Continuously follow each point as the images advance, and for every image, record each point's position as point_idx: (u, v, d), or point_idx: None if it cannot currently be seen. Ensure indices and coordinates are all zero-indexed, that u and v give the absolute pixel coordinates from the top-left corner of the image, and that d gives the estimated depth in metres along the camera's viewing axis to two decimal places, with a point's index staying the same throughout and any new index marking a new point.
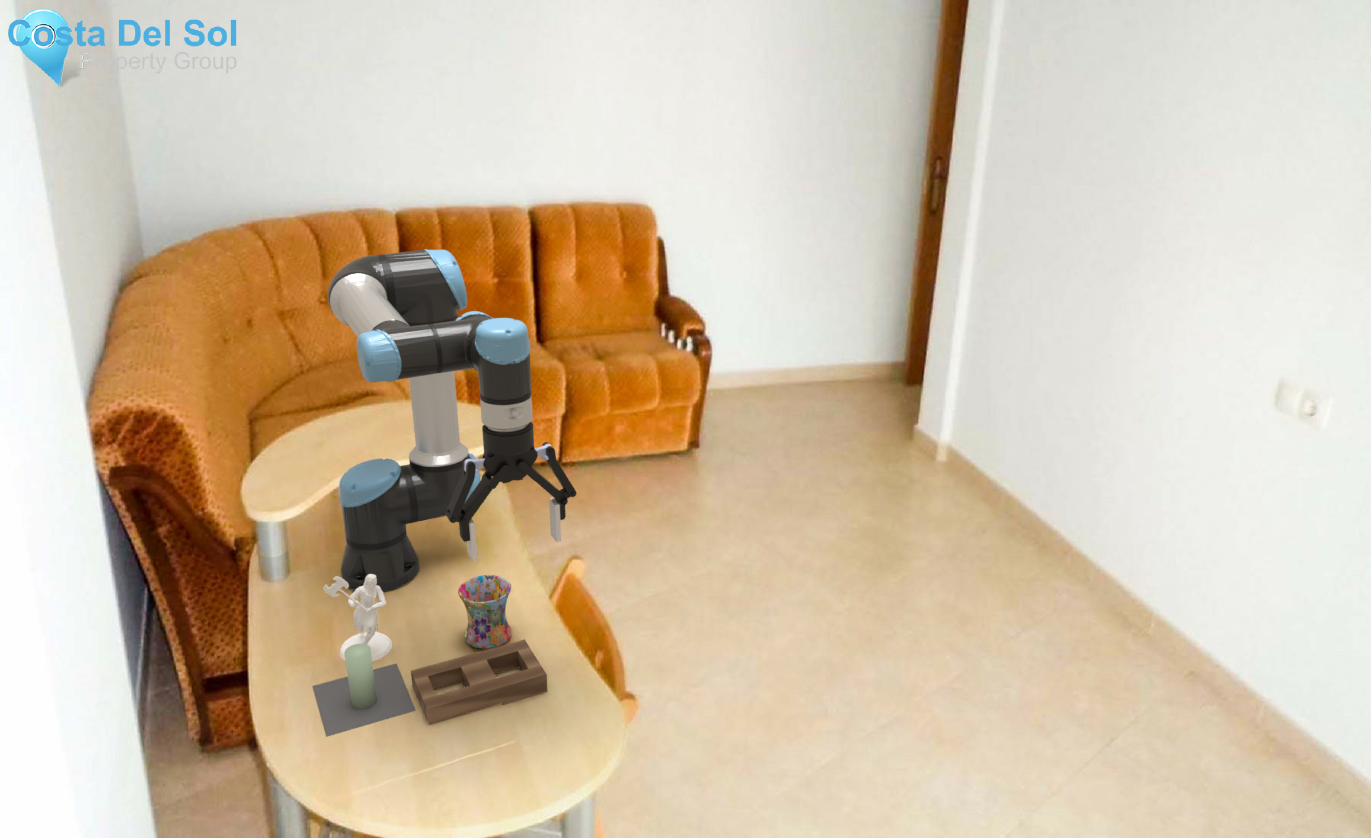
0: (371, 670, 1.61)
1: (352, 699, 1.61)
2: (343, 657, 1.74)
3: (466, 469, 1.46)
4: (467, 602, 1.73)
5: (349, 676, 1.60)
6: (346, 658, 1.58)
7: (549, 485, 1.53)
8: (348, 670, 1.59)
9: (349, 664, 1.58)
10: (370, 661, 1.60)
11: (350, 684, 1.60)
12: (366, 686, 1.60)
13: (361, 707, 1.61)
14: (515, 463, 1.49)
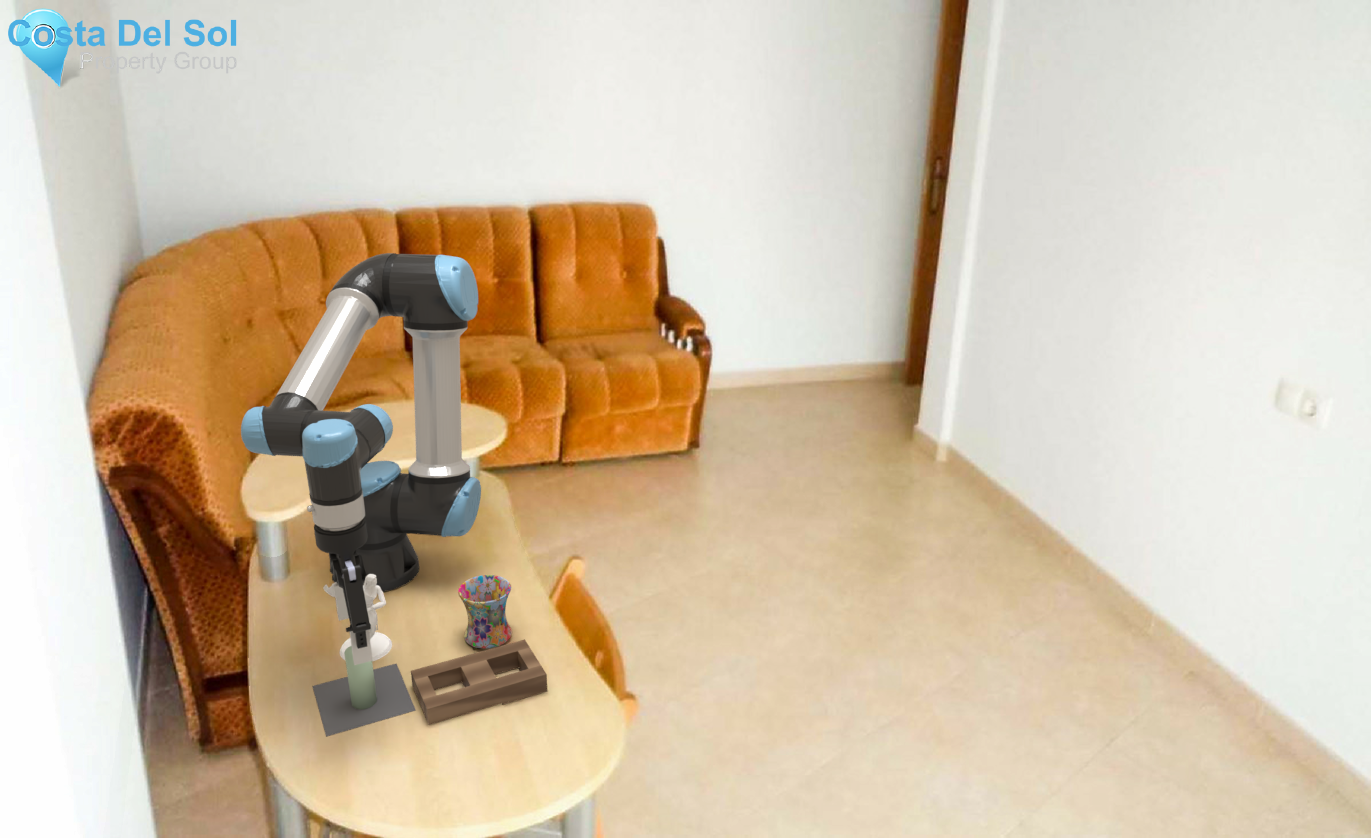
0: (371, 670, 1.61)
1: (352, 699, 1.61)
2: (343, 657, 1.74)
3: None
4: (467, 602, 1.73)
5: (349, 676, 1.60)
6: (346, 658, 1.58)
7: (346, 603, 1.49)
8: (348, 670, 1.59)
9: (349, 664, 1.58)
10: (370, 661, 1.60)
11: (350, 684, 1.60)
12: (366, 686, 1.60)
13: (361, 707, 1.61)
14: None
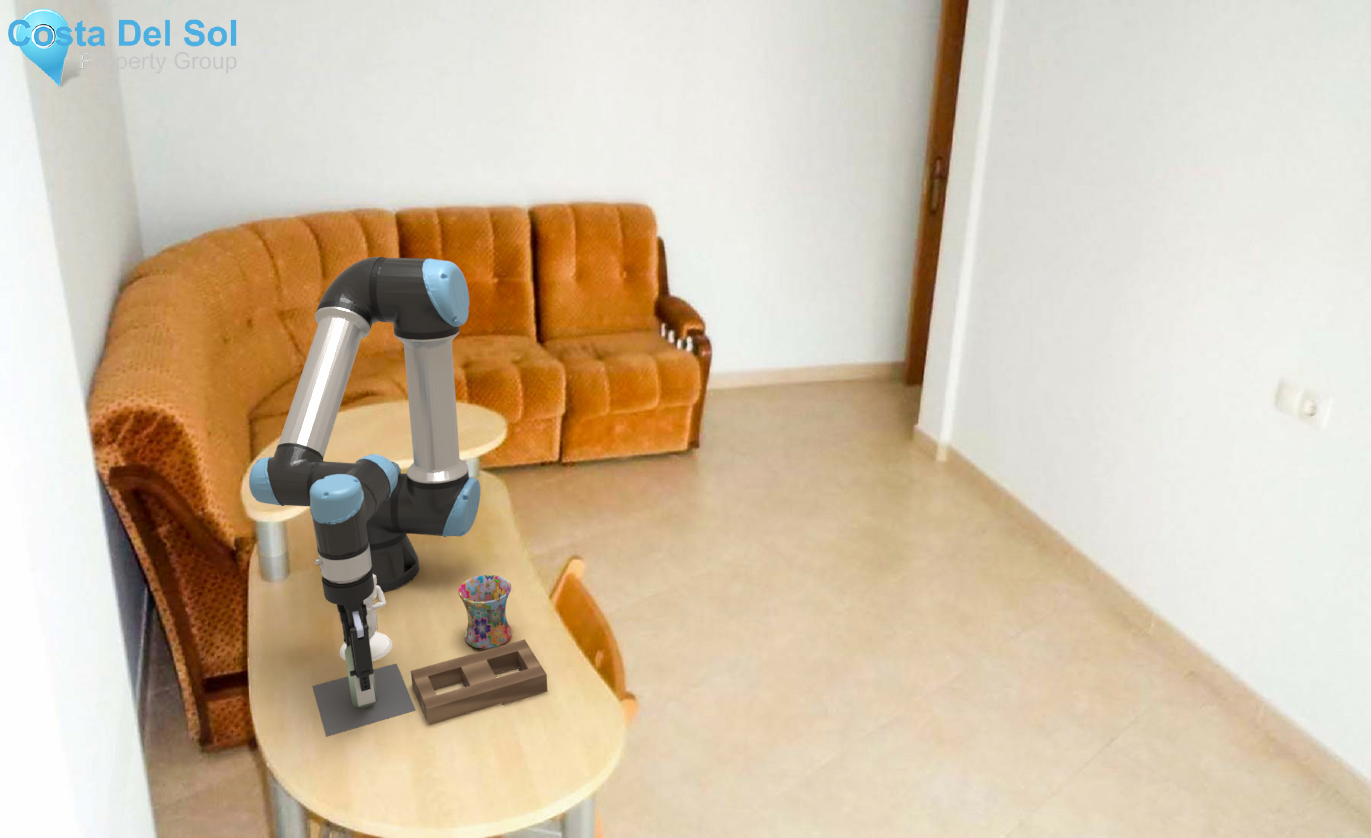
0: None
1: (352, 698, 1.61)
2: (343, 657, 1.74)
3: None
4: (467, 602, 1.73)
5: (349, 675, 1.60)
6: (346, 657, 1.58)
7: (351, 651, 1.56)
8: (348, 669, 1.59)
9: (349, 663, 1.58)
10: None
11: (350, 683, 1.60)
12: None
13: (361, 706, 1.61)
14: (344, 608, 1.55)
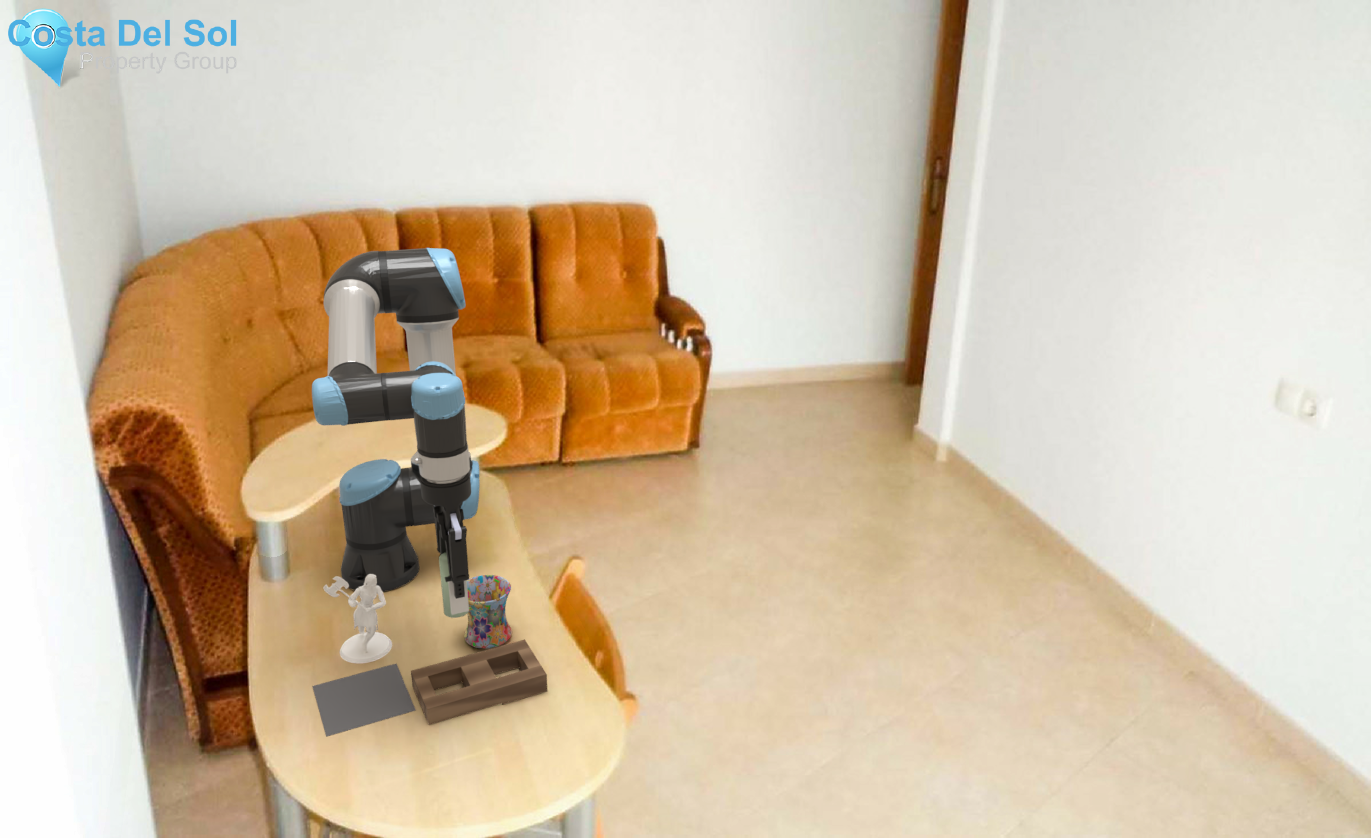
0: None
1: (445, 607, 1.59)
2: (343, 657, 1.74)
3: None
4: None
5: (443, 582, 1.57)
6: (441, 563, 1.56)
7: (447, 556, 1.54)
8: (442, 576, 1.57)
9: (443, 569, 1.56)
10: None
11: (443, 591, 1.58)
12: None
13: (454, 615, 1.59)
14: None
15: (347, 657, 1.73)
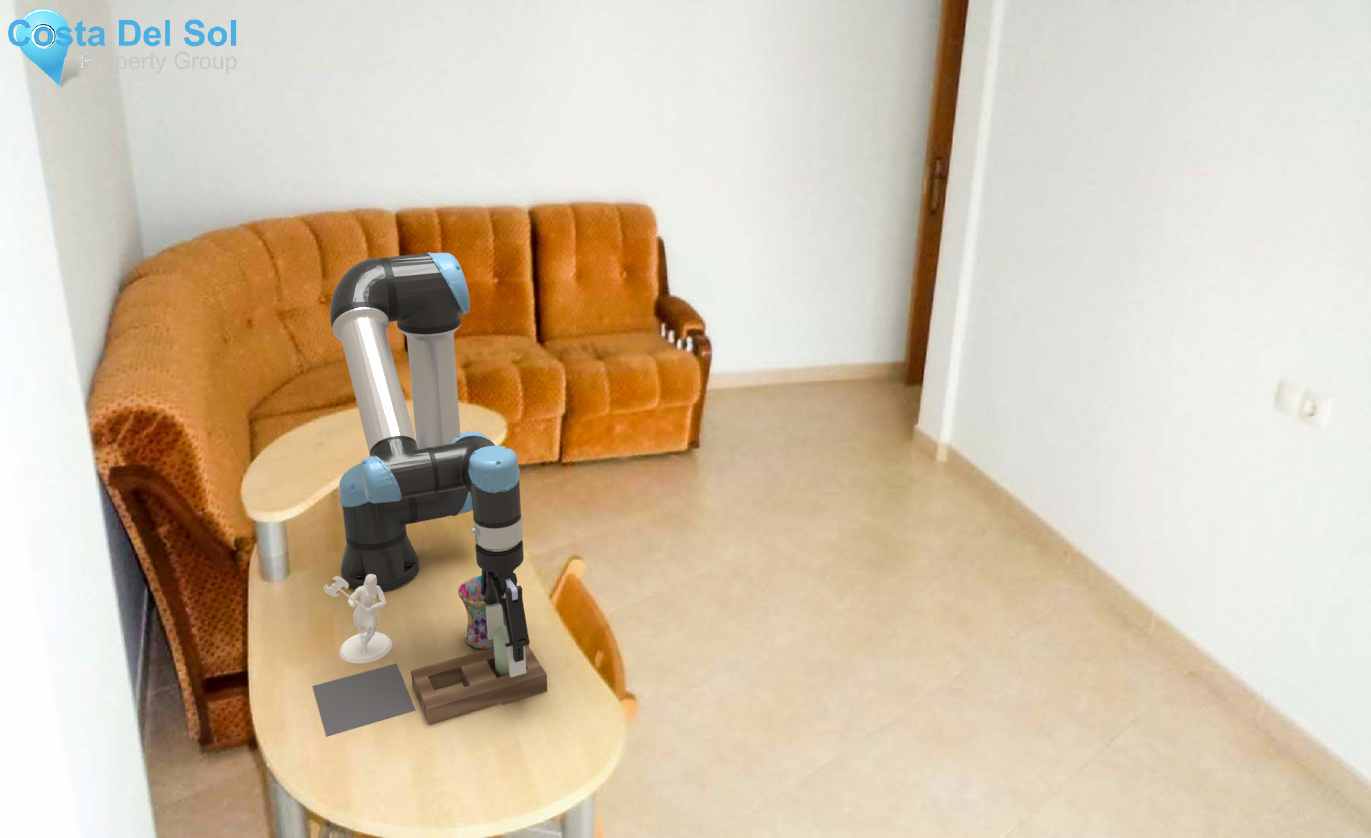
0: None
1: None
2: (343, 657, 1.74)
3: None
4: (467, 602, 1.73)
5: (497, 657, 1.65)
6: (495, 639, 1.64)
7: (505, 620, 1.59)
8: (496, 651, 1.65)
9: (498, 644, 1.64)
10: None
11: (497, 664, 1.66)
12: None
13: None
14: None
15: (347, 657, 1.73)
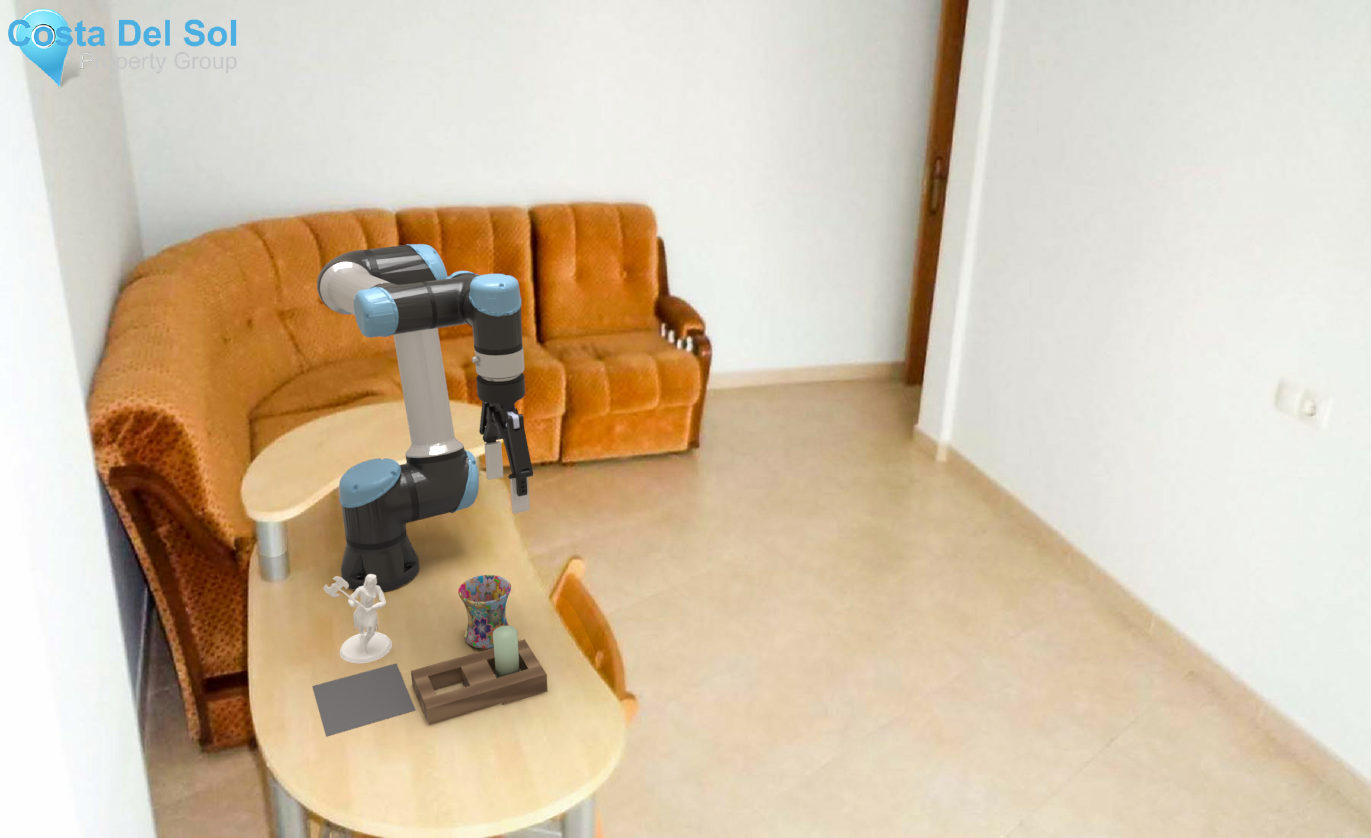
0: (517, 651, 1.66)
1: None
2: (343, 657, 1.74)
3: None
4: (467, 602, 1.73)
5: (497, 657, 1.65)
6: (495, 639, 1.64)
7: (508, 452, 1.56)
8: (496, 651, 1.65)
9: (498, 645, 1.64)
10: (517, 642, 1.66)
11: (497, 665, 1.66)
12: (513, 666, 1.66)
13: None
14: None
15: (347, 657, 1.73)
